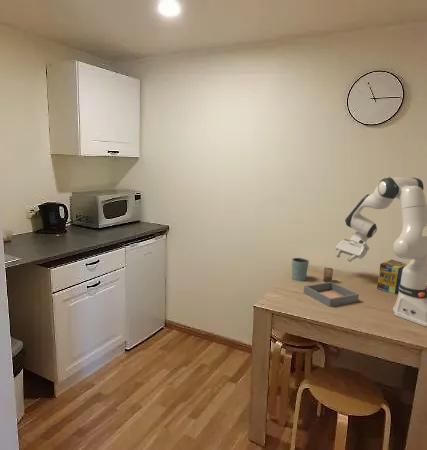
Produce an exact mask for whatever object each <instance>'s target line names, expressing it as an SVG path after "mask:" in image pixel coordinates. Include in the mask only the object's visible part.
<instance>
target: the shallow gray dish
mask: <svg viewBox="0 0 427 450" xmlns="http://www.w3.org/2000/svg"><path fill="white" fill-rule="evenodd" d="M327 290H332V291H334V292H335V293H334V292H332V291H328V292H322V291H327ZM336 293H338V294H340V295H341V296H339V295H338V294H336ZM303 294H305V295H307V296H309V297H310V298H313V299H314V300H316V301H318V302H320V303H322V304H324V305H326V306H327V307H336V306H339V305H340V306H341V305H345V304H351V303H355V302H358V301H359V296H360V294H359V293H357V292H355V291H354V290H351V289H348V288H346V287H343V286H341V285H339V284H338V283H335V282H327V283H326V282H320V283H315V284H314V283H313V284H308V285H304V286H303Z"/></svg>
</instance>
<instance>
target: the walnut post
mask: <svg viewBox="0 0 427 450" xmlns="http://www.w3.org/2000/svg"><path fill="white" fill-rule="evenodd" d="M333 273H334V269H333V268H332V267H324V269H323V279H322V281H323V283H327V282H332V281H333Z"/></svg>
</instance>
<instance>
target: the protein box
mask: <svg viewBox="0 0 427 450" xmlns="http://www.w3.org/2000/svg"><path fill="white" fill-rule="evenodd" d="M408 264H409V263H405V262H403V261H398V260H394V259H389V260H387V261H384V262H382V263H380V264H379V271H378V279H377V285H376V289H377V290H380V291H383V292H387V293H389V294H394V295H396V294H398V293H399V292H398V289H399V283H401V276H402V270H403V268H404V267H405V266H406V265H408Z"/></svg>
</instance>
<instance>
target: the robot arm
mask: <svg viewBox="0 0 427 450" xmlns="http://www.w3.org/2000/svg"><path fill="white" fill-rule="evenodd" d="M424 187H425V185H424V183H423V181H422V179H420V178H418V177H417V178H416V177H406V176H405V177H404V176H395V177H391V176H387V177H384V178H382V179H381V180H380V181H379V182H378V184H377V186H376V187H375V189H374V191H373V192H372V193H371V194H370V193H368V194H366V195H364V197H363V198H362V199H360V201H359V202H358V203H357V204H356V205H355V207H354V208H353V210H352V211H350V212H349V213H348V214H347V215H346V217H345V219H344V220H345V224H346V226H347V227H349V228H351V229H352V230H355V231H356V232H355V233H354V234H352V236H351V237H350V238H349V239H346V238H344V239H342V240H341V241H339V242H338V243H337V245H335V250H336V252H337V253H336V255H335V256H336V258H338V259H339V258H340V257H341V254H342V253H343V254H345V255H347V256H351V257H348V259H347V261H348V262H350V263H351V262H352V261H354V260H355V259H360V260H362V259H363V258H364V257H365V256H366V255H367V253H368V251H369V250H370V247H369V245H368V244H367V242H368V240H370V238H372V237H373V236H374V235H375V234H376V232H377V231H378V227H377V224H376V223H375V222H374V221H372V220H371V219H369V218H367V217H365V216H364V215H362V214H361V212H362V211H363V209H364V208H372V209H375V210H384V209H388V208H389V207H390V206H391V204H392V203H393V201H394V200H395V199H398V200H400V209H401V217H402V228H401V232H400V234H399V236H398V237H397V238H396V239H395V240H394V242H393V245H392V250H393V253H394V255H395V256H396V257H397V258H398V259H403V260H410V262H409V263H407V264H408V265H406V266H405V267H404V268H403V270H402V276H401V283H399V289H398V293H397V297H396V301H395V303H394V305H393V307H392V311H393V313H394V315H395V316H397V317H399V318H401V319H404V320H407V321H410V322H412V323H414V324H417V325H420V326H423V327H427V236H426V235H425V236H424V235H423V231H424V228H426V226H427V199H426V197H425V196H426V195H425V192H424Z"/></svg>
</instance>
